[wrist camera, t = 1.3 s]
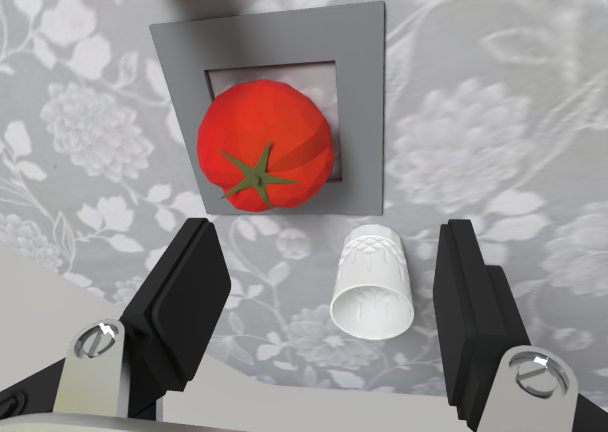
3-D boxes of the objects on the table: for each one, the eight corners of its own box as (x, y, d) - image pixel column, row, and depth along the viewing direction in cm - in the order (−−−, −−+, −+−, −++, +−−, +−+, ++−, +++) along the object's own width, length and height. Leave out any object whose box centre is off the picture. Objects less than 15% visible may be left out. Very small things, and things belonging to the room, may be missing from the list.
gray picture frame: (383, 0, 30) (384, 1, 29) (381, 211, 41) (382, 214, 41) (152, 24, 34) (148, 25, 33) (208, 211, 45) (206, 214, 45)
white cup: (422, 249, 43) (432, 319, 35) (370, 280, 48) (368, 350, 40) (375, 206, 41) (373, 271, 33) (324, 243, 45) (313, 309, 37)
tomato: (209, 152, 40) (165, 206, 32) (235, 44, 34) (188, 78, 25) (313, 194, 41) (297, 257, 33) (359, 97, 35) (353, 147, 26)
